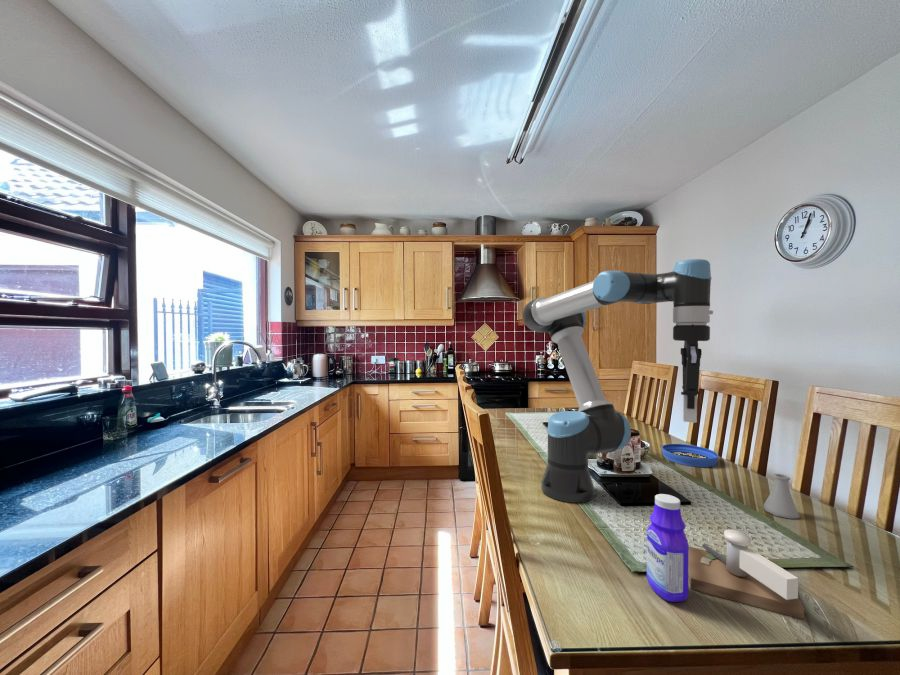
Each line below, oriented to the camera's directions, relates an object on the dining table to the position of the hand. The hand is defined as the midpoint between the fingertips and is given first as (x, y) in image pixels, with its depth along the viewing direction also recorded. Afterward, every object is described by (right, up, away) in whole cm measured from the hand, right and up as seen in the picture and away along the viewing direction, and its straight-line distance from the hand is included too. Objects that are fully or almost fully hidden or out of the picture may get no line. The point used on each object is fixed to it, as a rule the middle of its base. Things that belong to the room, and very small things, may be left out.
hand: (689, 421), depth 90 cm
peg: (-3, -24, -20) cm, 32 cm away
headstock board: (-3, -27, -19) cm, 33 cm away
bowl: (+32, -26, +50) cm, 65 cm away
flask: (+30, -27, +9) cm, 41 cm away
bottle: (-18, -27, -21) cm, 39 cm away
